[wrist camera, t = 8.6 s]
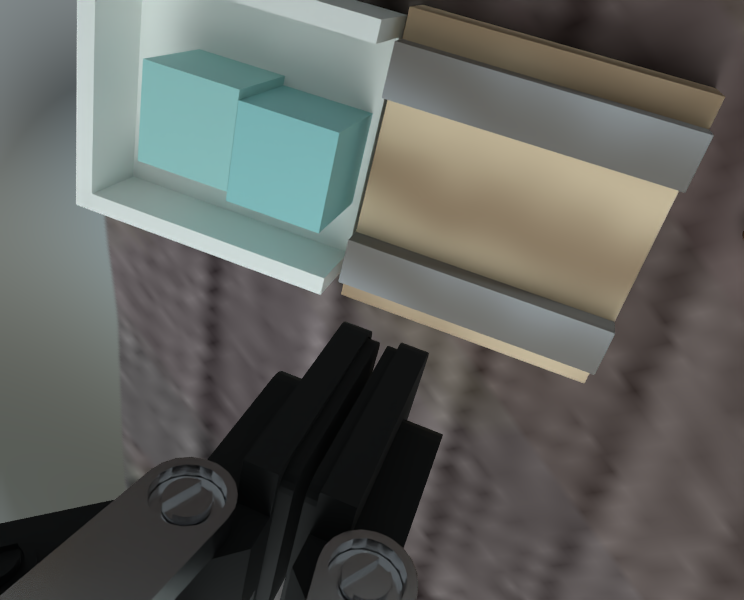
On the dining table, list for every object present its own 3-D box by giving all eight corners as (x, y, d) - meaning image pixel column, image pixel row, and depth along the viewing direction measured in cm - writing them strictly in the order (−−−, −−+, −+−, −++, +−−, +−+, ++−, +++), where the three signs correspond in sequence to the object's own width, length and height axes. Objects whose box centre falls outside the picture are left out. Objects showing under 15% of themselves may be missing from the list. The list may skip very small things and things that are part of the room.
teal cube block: (283, 85, 27) (238, 100, 24) (372, 113, 27) (339, 132, 23) (269, 175, 29) (225, 200, 26) (352, 203, 29) (318, 233, 25)
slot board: (422, 4, 25) (402, 7, 22) (715, 88, 23) (730, 101, 21) (355, 276, 31) (333, 303, 28) (584, 359, 29) (583, 396, 26)
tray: (135, -64, 27) (77, -70, 24) (407, 14, 25) (381, 19, 22) (124, 183, 32) (75, 204, 29) (348, 263, 31) (320, 295, 28)
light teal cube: (199, 49, 28) (143, 58, 24) (285, 75, 27) (239, 89, 24) (191, 140, 30) (137, 160, 26) (270, 166, 29) (226, 191, 26)
